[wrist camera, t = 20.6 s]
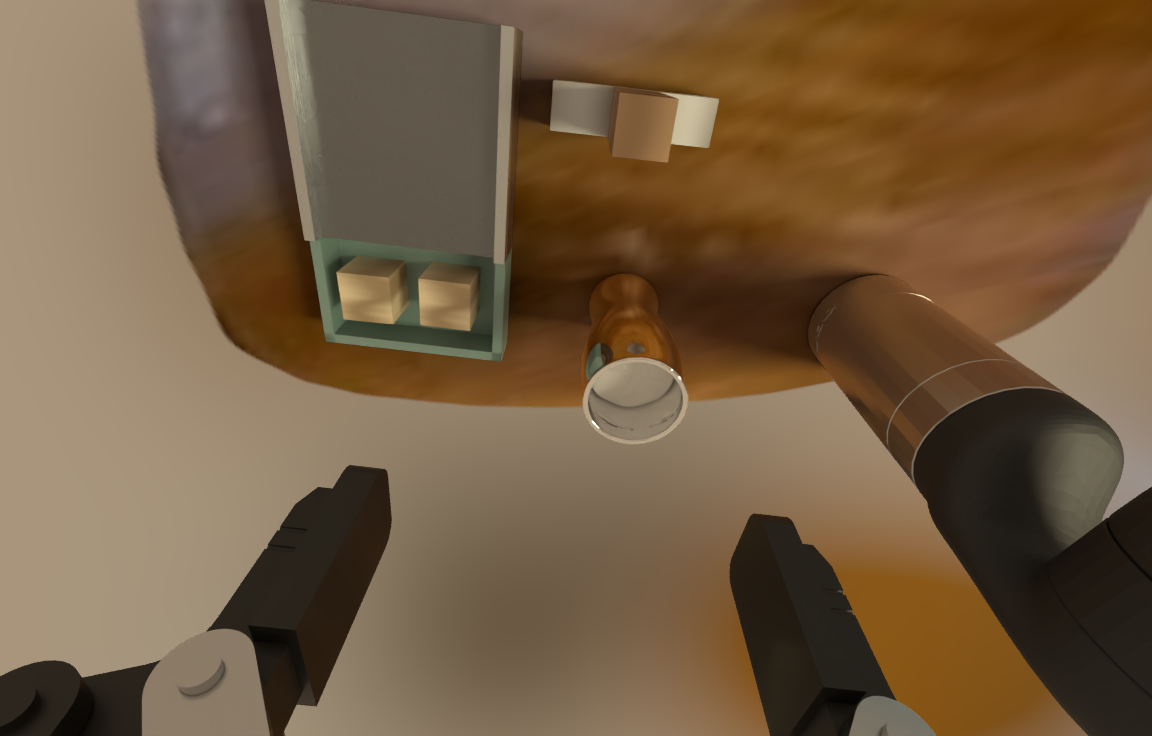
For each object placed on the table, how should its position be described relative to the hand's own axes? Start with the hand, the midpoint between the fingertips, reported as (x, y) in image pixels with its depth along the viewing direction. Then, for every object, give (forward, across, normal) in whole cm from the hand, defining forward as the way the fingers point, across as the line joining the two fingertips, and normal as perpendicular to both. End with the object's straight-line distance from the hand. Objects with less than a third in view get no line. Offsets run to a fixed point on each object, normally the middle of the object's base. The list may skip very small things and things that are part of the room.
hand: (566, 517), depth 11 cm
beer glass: (+33, -4, +9) cm, 34 cm away
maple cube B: (+30, +16, +7) cm, 35 cm away
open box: (+33, +13, -2) cm, 35 cm away
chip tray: (+33, +13, +10) cm, 37 cm away
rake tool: (+33, -2, -6) cm, 34 cm away
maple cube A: (+30, +10, +7) cm, 33 cm away
